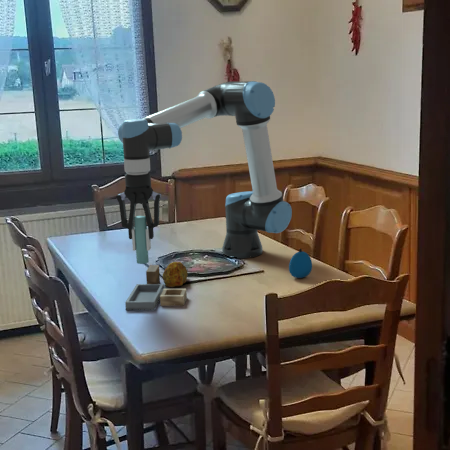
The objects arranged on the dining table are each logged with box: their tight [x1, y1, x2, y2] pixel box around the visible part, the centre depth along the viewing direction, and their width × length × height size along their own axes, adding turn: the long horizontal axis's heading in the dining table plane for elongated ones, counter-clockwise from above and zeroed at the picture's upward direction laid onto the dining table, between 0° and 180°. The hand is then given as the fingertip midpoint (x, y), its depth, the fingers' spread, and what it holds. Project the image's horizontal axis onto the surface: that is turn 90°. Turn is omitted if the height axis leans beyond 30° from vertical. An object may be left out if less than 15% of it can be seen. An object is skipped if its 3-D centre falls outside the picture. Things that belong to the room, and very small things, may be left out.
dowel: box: [134, 215, 150, 265], centre depth 209 cm, size 4×4×14 cm
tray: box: [124, 283, 165, 311], centre depth 213 cm, size 9×17×2 cm, turn 175°
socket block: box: [159, 288, 188, 307], centre depth 212 cm, size 7×7×3 cm
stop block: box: [145, 264, 161, 284], centre depth 227 cm, size 3×7×6 cm, turn 175°
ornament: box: [288, 248, 313, 279], centre depth 230 cm, size 8×5×10 cm, turn 111°
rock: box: [162, 261, 188, 288], centre depth 229 cm, size 11×8×10 cm
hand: (141, 249), depth 210 cm, fingers closed on dowel, 3 cm apart
